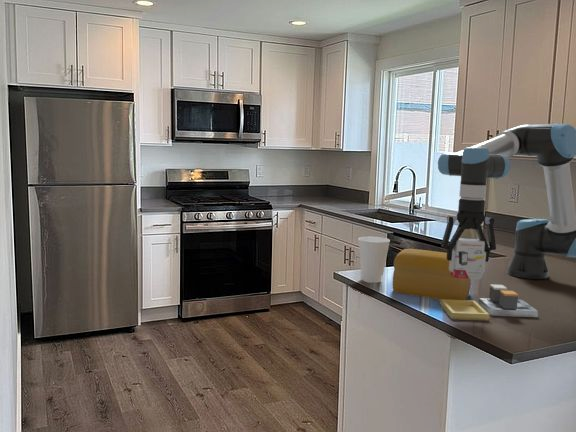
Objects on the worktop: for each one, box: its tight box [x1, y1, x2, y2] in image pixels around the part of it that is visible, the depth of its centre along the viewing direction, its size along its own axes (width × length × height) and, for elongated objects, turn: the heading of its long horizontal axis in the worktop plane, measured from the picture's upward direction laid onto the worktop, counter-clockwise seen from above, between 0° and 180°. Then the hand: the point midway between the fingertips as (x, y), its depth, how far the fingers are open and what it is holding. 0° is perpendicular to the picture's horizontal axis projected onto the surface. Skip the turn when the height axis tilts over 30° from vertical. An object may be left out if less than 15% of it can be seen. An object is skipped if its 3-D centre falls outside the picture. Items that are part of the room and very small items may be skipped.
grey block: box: [499, 290, 519, 309], centre depth 167 cm, size 4×4×5 cm
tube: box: [458, 222, 478, 239], centre depth 292 cm, size 10×10×25 cm
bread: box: [392, 248, 472, 301], centre depth 187 cm, size 24×13×15 cm, turn 61°
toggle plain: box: [488, 283, 508, 302], centre depth 174 cm, size 4×4×5 cm
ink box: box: [451, 238, 485, 280], centre depth 165 cm, size 9×5×12 cm, turn 90°
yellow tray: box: [439, 299, 490, 322], centre depth 167 cm, size 11×14×2 cm
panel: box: [478, 297, 539, 318], centre depth 171 cm, size 14×12×2 cm
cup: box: [357, 236, 391, 284], centre depth 202 cm, size 12×12×16 cm
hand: (466, 271), depth 165 cm, fingers closed on ink box, 9 cm apart
